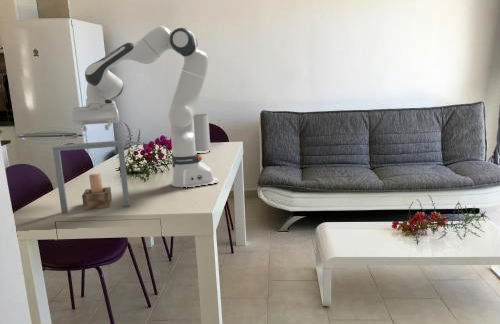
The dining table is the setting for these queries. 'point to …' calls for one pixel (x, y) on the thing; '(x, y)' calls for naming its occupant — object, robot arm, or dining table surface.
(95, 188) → the terracotta peg
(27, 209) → the dining table surface
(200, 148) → the cylinder vase
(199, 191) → the dining table surface
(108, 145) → the grey arch frame
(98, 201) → the walnut socket
